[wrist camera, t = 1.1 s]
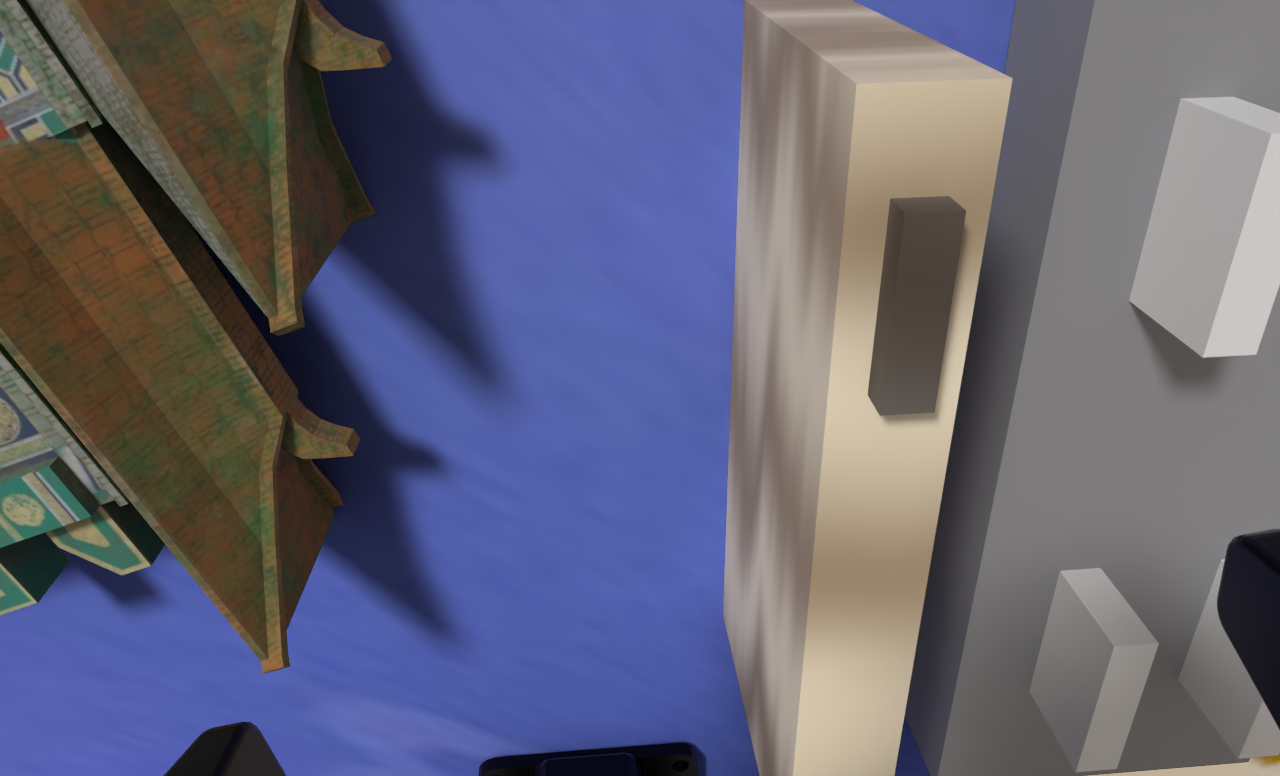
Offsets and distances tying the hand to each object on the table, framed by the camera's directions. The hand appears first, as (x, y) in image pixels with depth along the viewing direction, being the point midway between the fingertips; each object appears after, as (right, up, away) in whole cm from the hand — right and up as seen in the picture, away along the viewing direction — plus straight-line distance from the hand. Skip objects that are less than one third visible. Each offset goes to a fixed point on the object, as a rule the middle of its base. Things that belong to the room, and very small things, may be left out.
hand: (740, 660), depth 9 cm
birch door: (+2, +3, +14) cm, 15 cm away
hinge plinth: (+11, +3, +15) cm, 19 cm away
